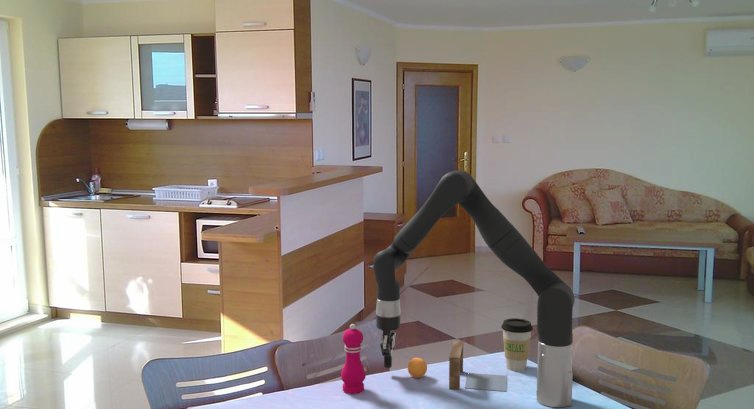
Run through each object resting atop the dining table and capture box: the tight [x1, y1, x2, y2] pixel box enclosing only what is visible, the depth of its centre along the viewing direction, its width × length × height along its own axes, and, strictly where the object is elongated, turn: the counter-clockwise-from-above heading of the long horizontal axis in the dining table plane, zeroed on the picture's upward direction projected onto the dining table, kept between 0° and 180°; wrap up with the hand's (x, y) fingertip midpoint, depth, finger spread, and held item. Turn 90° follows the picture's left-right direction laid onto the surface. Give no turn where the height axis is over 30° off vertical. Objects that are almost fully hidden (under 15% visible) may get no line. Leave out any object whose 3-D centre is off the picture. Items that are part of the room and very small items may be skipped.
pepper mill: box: [340, 323, 367, 395], centre depth 184 cm, size 7×7×20 cm
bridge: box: [448, 340, 464, 391], centre depth 191 cm, size 3×15×10 cm, turn 168°
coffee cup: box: [501, 317, 533, 372], centre depth 201 cm, size 10×10×15 cm
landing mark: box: [464, 372, 507, 392], centre depth 190 cm, size 12×12×1 cm
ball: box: [407, 357, 428, 379], centre depth 194 cm, size 6×6×6 cm
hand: (388, 366), depth 196 cm, fingers closed
